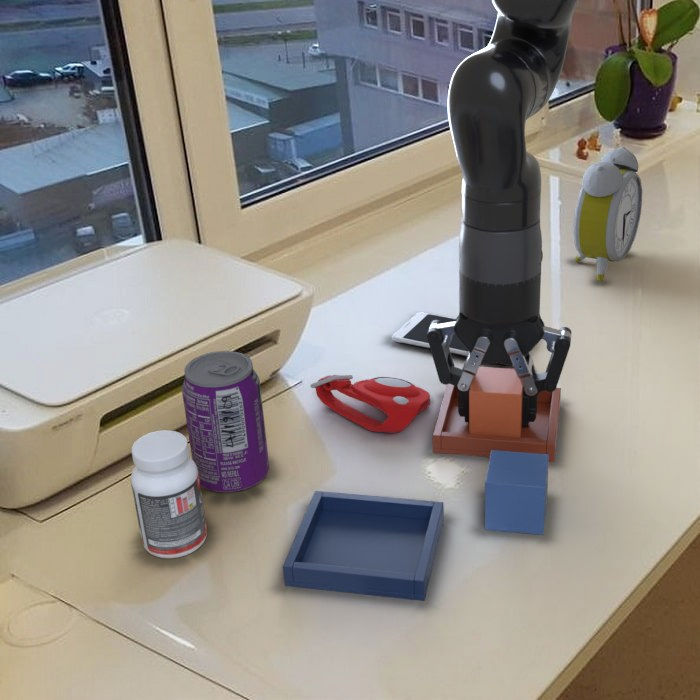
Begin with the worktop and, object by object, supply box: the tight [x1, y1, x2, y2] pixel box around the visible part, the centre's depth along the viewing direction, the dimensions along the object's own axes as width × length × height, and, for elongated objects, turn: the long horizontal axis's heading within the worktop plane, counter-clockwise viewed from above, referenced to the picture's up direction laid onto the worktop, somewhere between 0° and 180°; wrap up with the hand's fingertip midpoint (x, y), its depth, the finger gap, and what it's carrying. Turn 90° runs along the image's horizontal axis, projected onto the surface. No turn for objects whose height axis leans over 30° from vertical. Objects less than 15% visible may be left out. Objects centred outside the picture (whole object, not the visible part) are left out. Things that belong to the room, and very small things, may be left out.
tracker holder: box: [310, 374, 431, 434], centre depth 109 cm, size 12×4×10 cm
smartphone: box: [391, 311, 469, 358], centre depth 123 cm, size 8×1×15 cm
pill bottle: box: [130, 429, 208, 559], centre depth 91 cm, size 6×6×10 cm
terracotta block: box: [469, 366, 524, 438], centre depth 105 cm, size 5×5×5 cm
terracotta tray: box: [432, 384, 562, 463], centre depth 106 cm, size 12×11×2 cm
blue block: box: [484, 450, 550, 536], centre depth 93 cm, size 5×5×5 cm
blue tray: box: [282, 490, 445, 602], centre depth 90 cm, size 12×11×2 cm
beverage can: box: [181, 350, 270, 493], centre depth 99 cm, size 7×7×12 cm
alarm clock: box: [573, 146, 643, 282], centre depth 136 cm, size 12×7×15 cm, turn 148°
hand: (497, 419), depth 106 cm, fingers closed on terracotta block, 5 cm apart
